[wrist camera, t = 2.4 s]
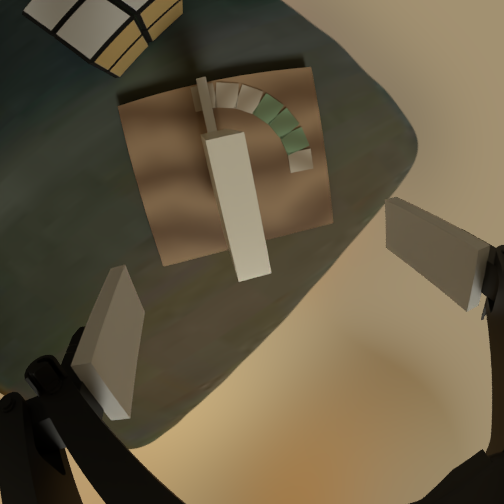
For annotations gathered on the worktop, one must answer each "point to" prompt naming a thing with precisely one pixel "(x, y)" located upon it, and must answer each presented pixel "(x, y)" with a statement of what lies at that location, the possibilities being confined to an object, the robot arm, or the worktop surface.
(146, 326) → the worktop surface
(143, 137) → the brown square board
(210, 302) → the worktop surface
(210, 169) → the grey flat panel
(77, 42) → the puzzle cube
